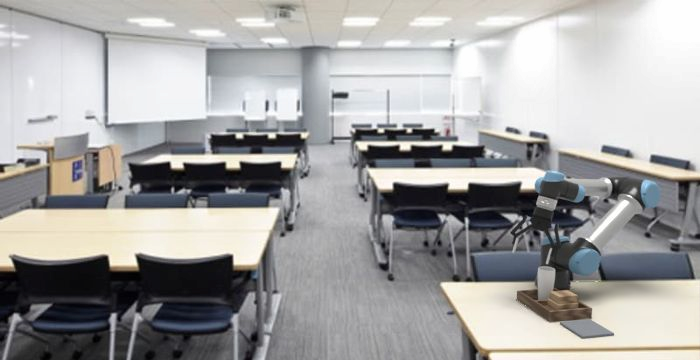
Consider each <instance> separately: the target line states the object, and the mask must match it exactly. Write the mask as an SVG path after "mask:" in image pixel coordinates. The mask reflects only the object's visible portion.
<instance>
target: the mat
mask: <svg viewBox="0 0 700 360" xmlns="http://www.w3.org/2000/svg"><path fill="white" fill-rule="evenodd" d="M559 325H560V326H562V327H564V328H565V329H567V330H568V331H570V332H571V333H573V334H574V335H575V336H578V337H579V338H580V339H584V340H585V339H591V338H592V339H593V338H600V337H601V338H602V337H611V336H615V332H613V331H611V330H610V329H607V328H605V326H603V325H601V324H599V323H598V322H596V321H594V320H592V318H589V319H578V320H567V321H559Z"/></svg>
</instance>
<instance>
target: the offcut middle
mask: <svg viewBox="0 0 700 360" xmlns="http://www.w3.org/2000/svg"><path fill="white" fill-rule="evenodd" d="M578 304H579V303H568V304H557V303H555V302H554V301H552V300H550V299H547V307H549V308H551V309H552V310H554V311H555V310H566V309H577V308H578Z"/></svg>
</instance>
